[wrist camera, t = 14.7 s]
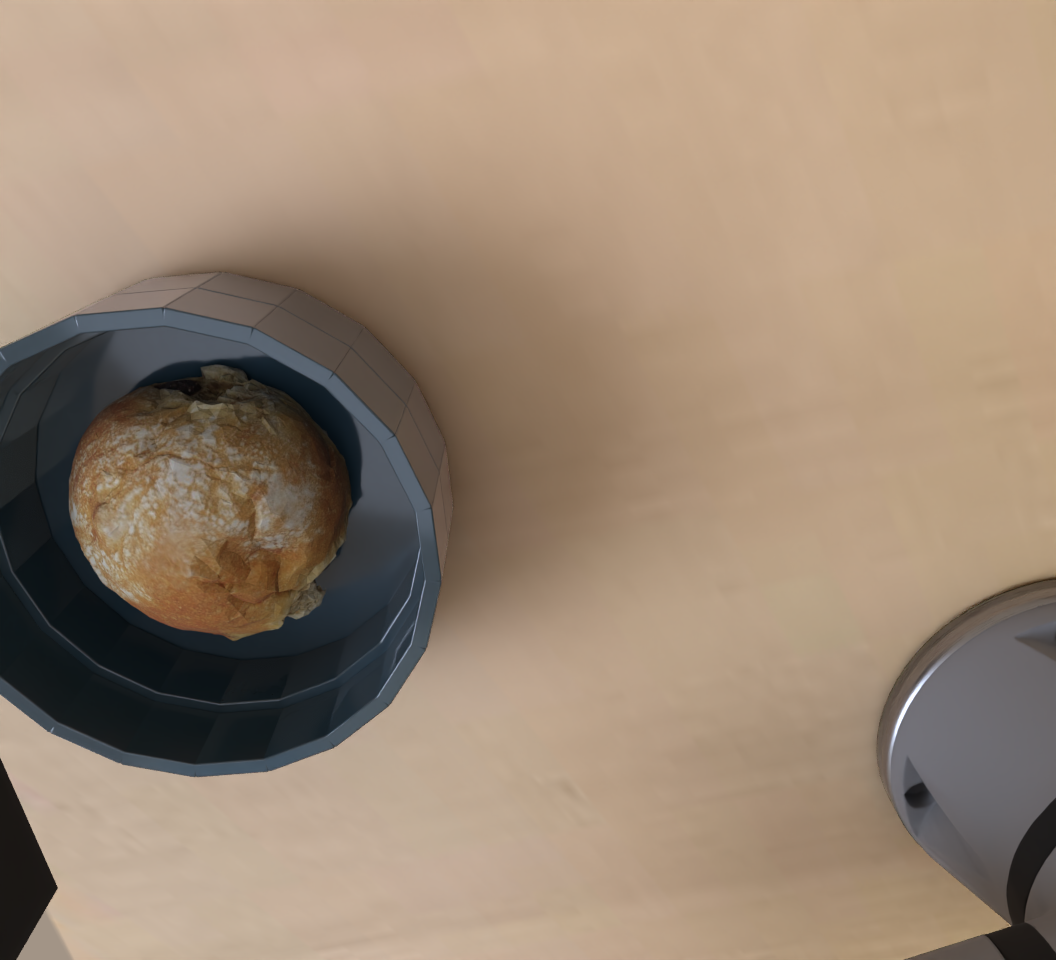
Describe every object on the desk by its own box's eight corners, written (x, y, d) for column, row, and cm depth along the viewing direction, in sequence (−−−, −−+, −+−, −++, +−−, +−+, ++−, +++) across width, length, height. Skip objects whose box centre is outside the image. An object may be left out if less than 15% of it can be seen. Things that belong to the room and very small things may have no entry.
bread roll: (347, 365, 40) (284, 322, 32) (389, 610, 39) (336, 630, 31) (118, 410, 40) (0, 379, 32) (156, 652, 40) (44, 683, 32)
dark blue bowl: (531, 416, 37) (534, 483, 31) (332, 730, 43) (299, 844, 36) (117, 179, 34) (23, 199, 28) (-43, 553, 39) (-153, 644, 33)
